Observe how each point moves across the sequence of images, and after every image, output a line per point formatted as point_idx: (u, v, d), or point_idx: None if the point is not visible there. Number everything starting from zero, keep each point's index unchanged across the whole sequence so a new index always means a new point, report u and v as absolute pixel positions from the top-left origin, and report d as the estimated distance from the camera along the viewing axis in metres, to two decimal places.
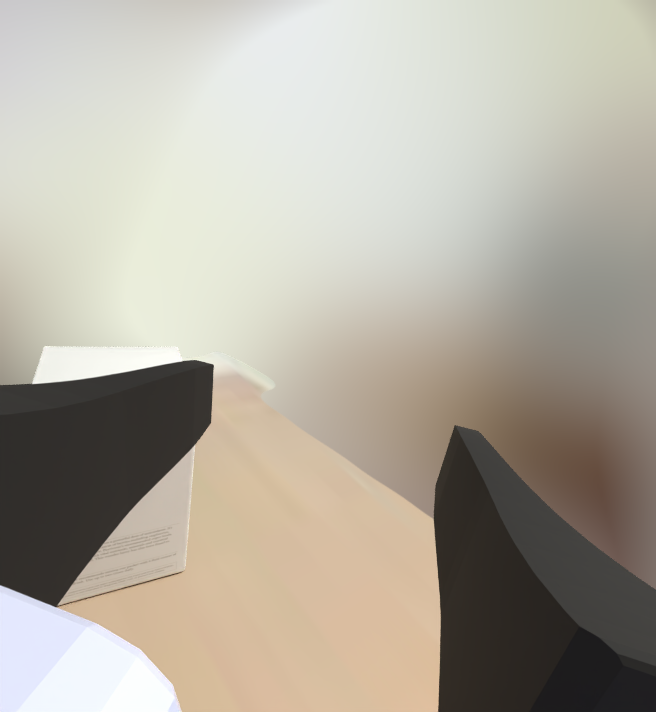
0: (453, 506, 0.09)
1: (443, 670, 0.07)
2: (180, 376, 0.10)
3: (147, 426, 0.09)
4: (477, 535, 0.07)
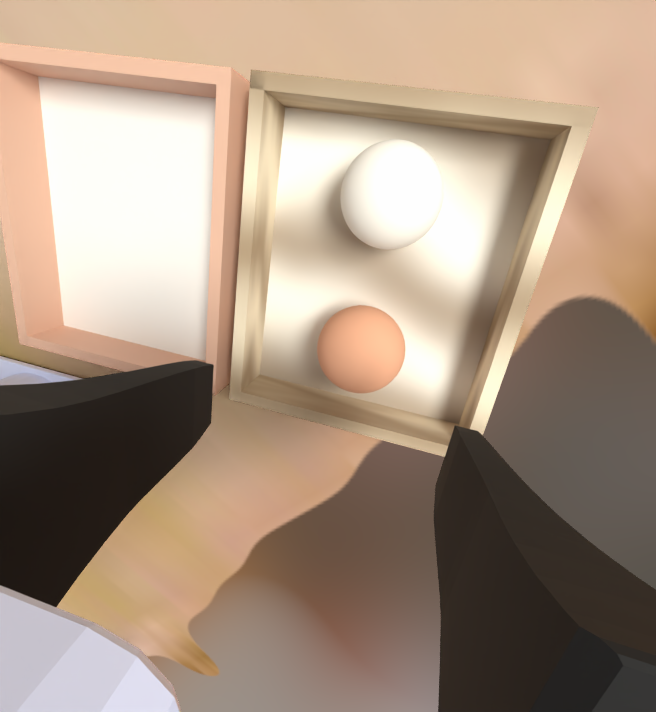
0: (452, 506, 0.09)
1: (443, 670, 0.07)
2: (180, 376, 0.10)
3: (147, 426, 0.09)
4: (477, 535, 0.07)
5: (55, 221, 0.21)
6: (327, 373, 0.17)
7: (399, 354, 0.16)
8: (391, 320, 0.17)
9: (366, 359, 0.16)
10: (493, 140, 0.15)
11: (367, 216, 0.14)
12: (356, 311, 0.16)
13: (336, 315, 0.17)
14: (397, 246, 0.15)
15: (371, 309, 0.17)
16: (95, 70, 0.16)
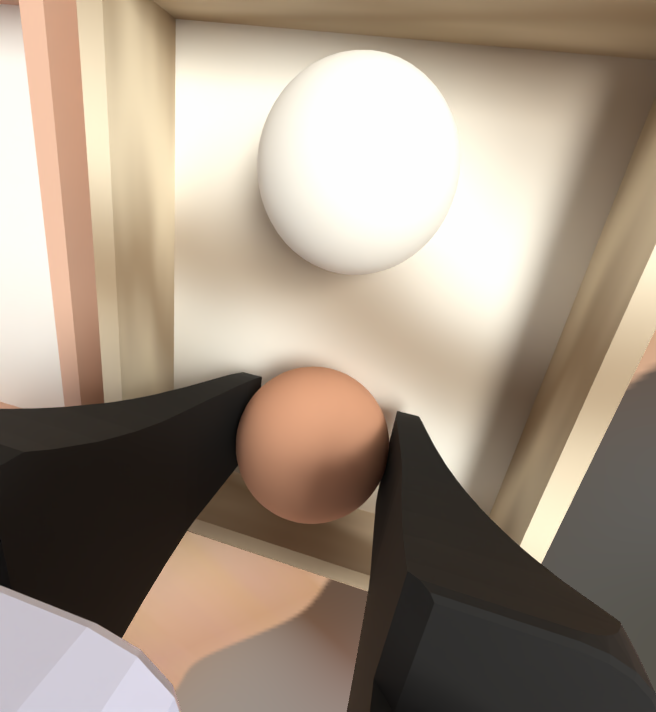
0: (385, 486, 0.09)
1: (360, 640, 0.07)
2: (235, 390, 0.10)
3: (206, 443, 0.09)
4: (391, 510, 0.07)
5: None
6: (250, 491, 0.09)
7: (377, 462, 0.09)
8: (363, 399, 0.09)
9: (312, 482, 0.08)
10: (553, 67, 0.08)
11: (301, 211, 0.07)
12: (299, 384, 0.09)
13: (266, 388, 0.09)
14: (369, 270, 0.08)
15: (327, 378, 0.09)
16: None
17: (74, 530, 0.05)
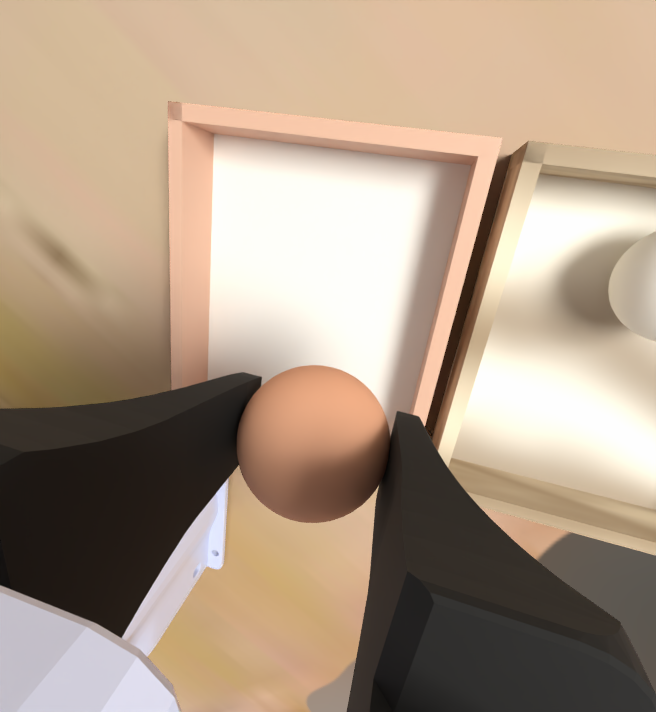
0: (385, 486, 0.09)
1: (360, 641, 0.07)
2: (235, 390, 0.10)
3: (206, 443, 0.09)
4: (391, 509, 0.07)
5: (213, 287, 0.19)
6: None
7: (378, 461, 0.09)
8: (364, 397, 0.09)
9: (313, 482, 0.08)
10: None
11: None
12: (300, 382, 0.09)
13: (267, 387, 0.09)
14: None
15: (328, 377, 0.09)
16: (318, 137, 0.14)
17: (74, 530, 0.05)
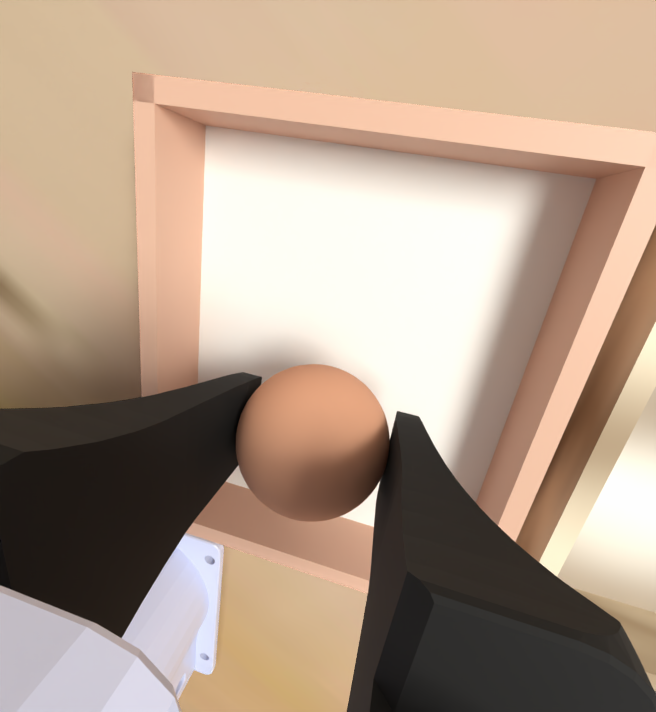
0: (385, 486, 0.09)
1: (360, 641, 0.07)
2: (235, 390, 0.10)
3: (206, 443, 0.09)
4: (391, 510, 0.07)
5: (203, 337, 0.14)
6: (250, 489, 0.09)
7: (377, 460, 0.09)
8: (363, 396, 0.09)
9: (312, 480, 0.08)
10: None
11: None
12: (299, 381, 0.09)
13: (266, 385, 0.09)
14: None
15: (327, 375, 0.09)
16: (371, 131, 0.09)
17: (74, 530, 0.05)
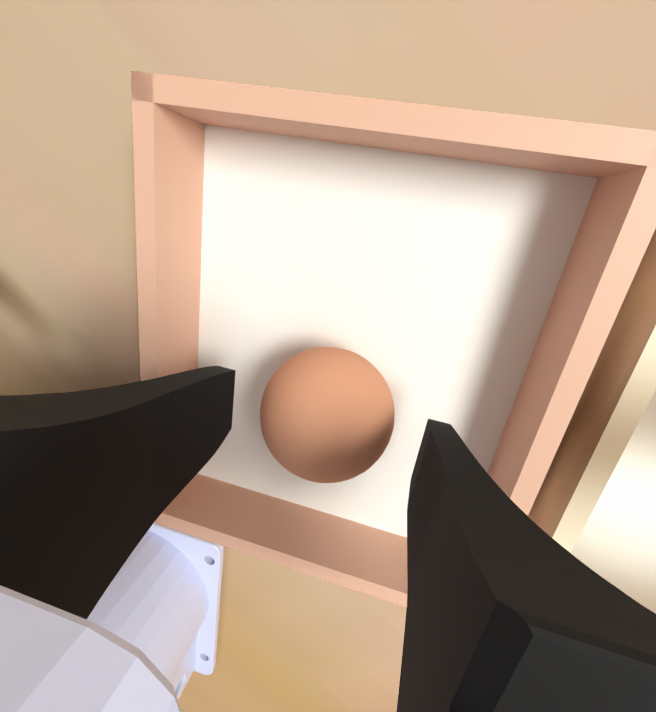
0: (421, 497, 0.09)
1: (404, 657, 0.07)
2: (205, 382, 0.10)
3: (174, 434, 0.09)
4: (437, 523, 0.07)
5: (202, 337, 0.14)
6: (273, 455, 0.11)
7: (384, 428, 0.10)
8: (372, 373, 0.11)
9: (329, 443, 0.10)
10: None
11: None
12: (316, 360, 0.10)
13: (287, 364, 0.11)
14: None
15: (341, 356, 0.11)
16: (371, 130, 0.09)
17: (25, 512, 0.05)
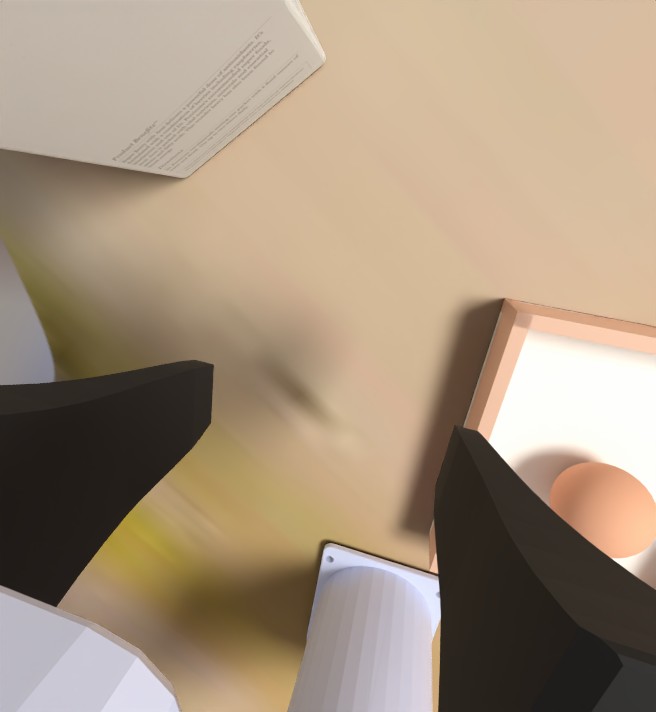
0: (452, 506, 0.09)
1: (443, 671, 0.07)
2: (180, 376, 0.10)
3: (147, 426, 0.09)
4: (477, 535, 0.07)
5: None
6: None
7: None
8: (644, 487, 0.16)
9: (638, 538, 0.15)
10: None
11: None
12: (613, 480, 0.16)
13: (586, 481, 0.17)
14: None
15: (624, 475, 0.16)
16: None
17: None
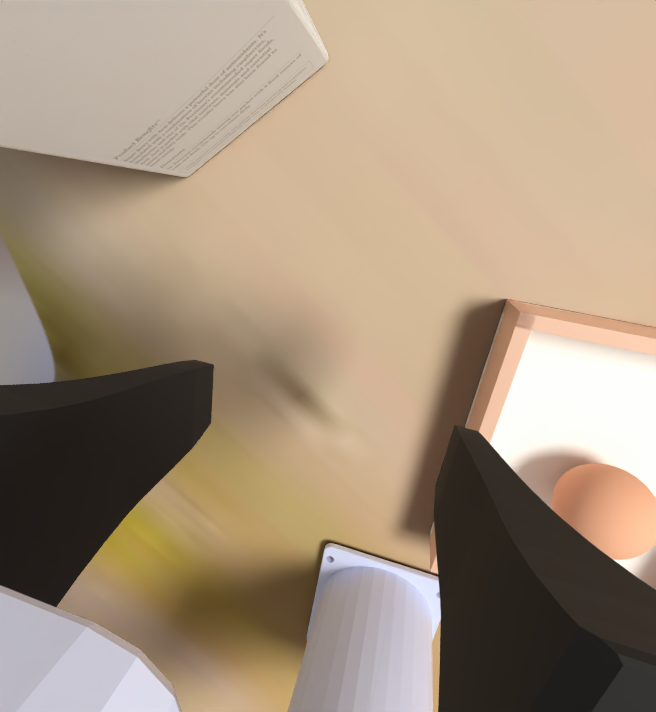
0: (453, 506, 0.09)
1: (443, 670, 0.07)
2: (180, 376, 0.10)
3: (147, 426, 0.09)
4: (477, 535, 0.07)
5: None
6: None
7: None
8: (647, 487, 0.16)
9: (642, 539, 0.15)
10: None
11: None
12: (617, 481, 0.16)
13: (590, 482, 0.17)
14: None
15: (627, 476, 0.16)
16: None
17: None
